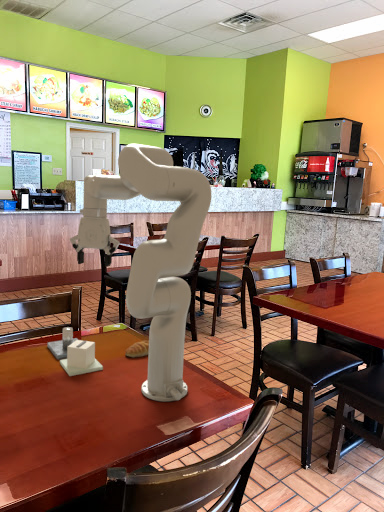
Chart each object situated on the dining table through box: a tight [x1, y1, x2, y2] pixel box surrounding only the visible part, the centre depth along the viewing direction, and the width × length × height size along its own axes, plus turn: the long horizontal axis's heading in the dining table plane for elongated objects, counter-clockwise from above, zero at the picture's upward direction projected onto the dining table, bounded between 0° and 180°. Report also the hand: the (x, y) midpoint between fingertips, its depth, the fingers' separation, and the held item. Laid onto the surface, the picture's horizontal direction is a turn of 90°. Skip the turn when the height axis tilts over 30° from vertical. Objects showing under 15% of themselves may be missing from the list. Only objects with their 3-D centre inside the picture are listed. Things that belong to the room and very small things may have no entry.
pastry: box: [124, 340, 149, 358], centre depth 136 cm, size 9×7×4 cm
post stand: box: [47, 326, 79, 360], centre depth 135 cm, size 12×10×8 cm
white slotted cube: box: [66, 339, 96, 369], centre depth 123 cm, size 6×6×6 cm
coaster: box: [59, 358, 104, 377], centre depth 124 cm, size 10×10×1 cm
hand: (94, 264), depth 137 cm, fingers open, 9 cm apart
